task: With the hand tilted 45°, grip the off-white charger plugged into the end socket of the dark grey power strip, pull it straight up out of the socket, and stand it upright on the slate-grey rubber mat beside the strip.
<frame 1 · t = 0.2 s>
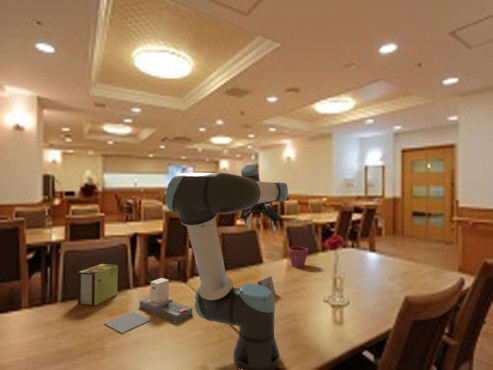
hand: (262, 229, 140), 36 cm above the table, tool tilted 35°, fingers open, 13 cm apart
power strip: (165, 310, 125), on the table
mat: (127, 322, 114), on the table
charger: (159, 302, 127), point 3 cm above the table, touching power strip
protein box: (98, 299, 138), on the table
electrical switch: (266, 295, 144), on the table
plant pot: (297, 266, 199), on the table
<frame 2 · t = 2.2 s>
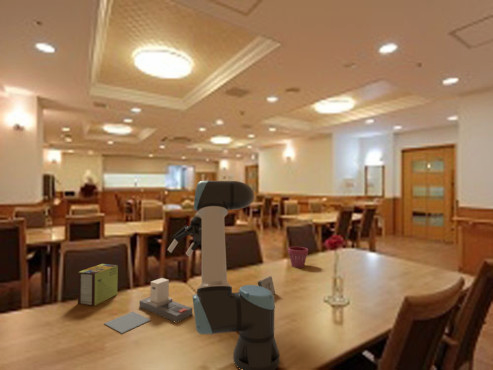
hand: (178, 253, 136), 24 cm above the table, tool tilted 45°, fingers open, 13 cm apart
nothing on the table moved.
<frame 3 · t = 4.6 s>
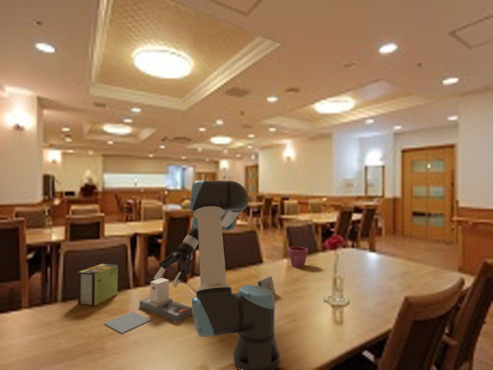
hand: (164, 282, 131), 11 cm above the table, tool tilted 45°, fingers open, 13 cm apart
nothing on the table moved.
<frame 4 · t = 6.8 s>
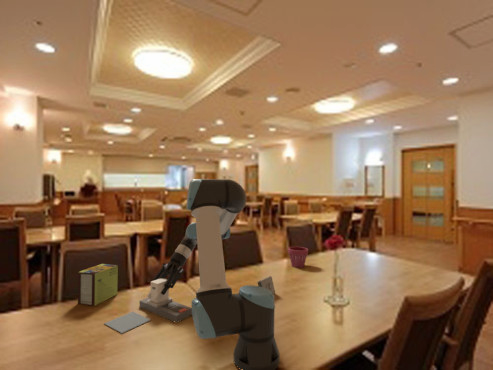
hand: (152, 298, 124), 6 cm above the table, tool tilted 45°, fingers closed on charger, 5 cm apart
charger: (159, 302, 127), point 3 cm above the table, touching gripper, power strip
everything else where it was.
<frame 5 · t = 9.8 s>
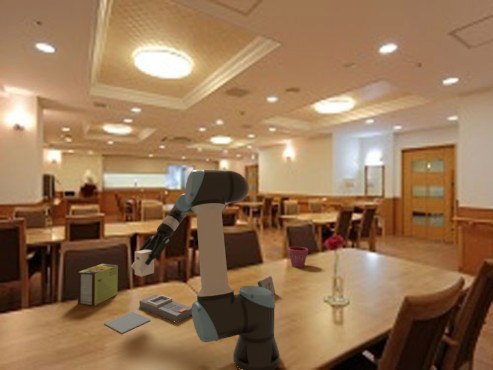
hand: (136, 269, 119), 21 cm above the table, tool tilted 45°, fingers closed on charger, 5 cm apart
charger: (144, 273, 122), point 18 cm above the table, touching gripper
everything else where it was.
when the fingers open (5 cm above the table, at t = 13.1 s): charger drops 1 cm, resting on mat.
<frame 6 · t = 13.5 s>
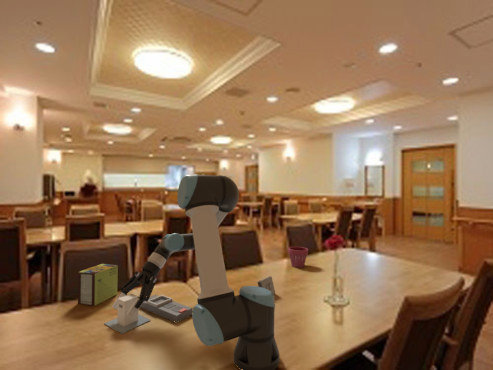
hand: (121, 311, 112), 5 cm above the table, tool tilted 45°, fingers open, 10 cm apart
charger: (127, 321, 114), resting on mat
everything else where it was.
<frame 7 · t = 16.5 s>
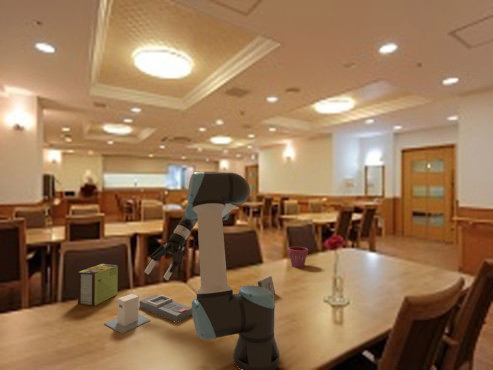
hand: (155, 275, 124), 16 cm above the table, tool tilted 40°, fingers open, 13 cm apart
nothing on the table moved.
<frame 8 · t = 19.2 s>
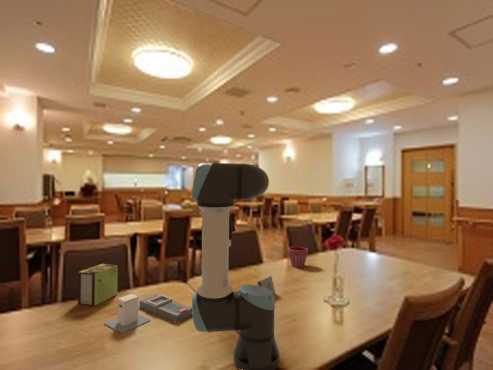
hand: (217, 244, 134), 29 cm above the table, tool pointing down, fingers open, 13 cm apart
nothing on the table moved.
at the end: charger inside the target area on the mat (0.0 cm from its centre), point 0.4 cm above the mat's base; charger tilted 0°; the gripper is holding nothing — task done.
